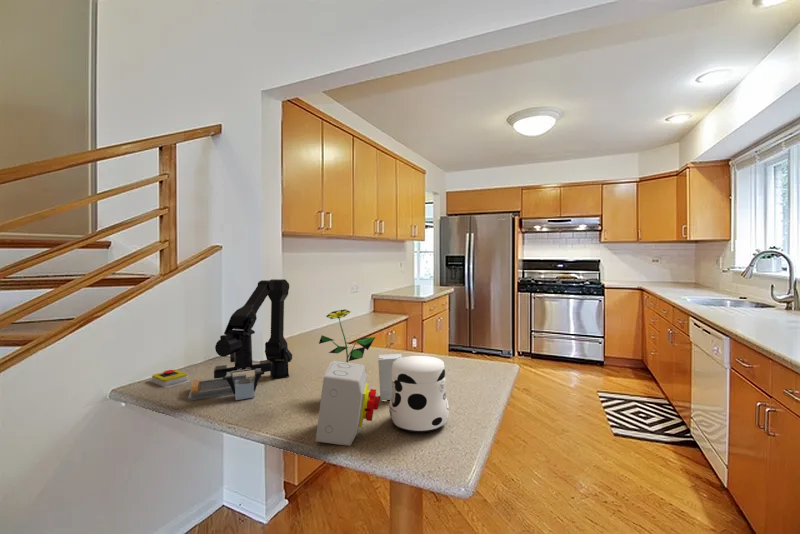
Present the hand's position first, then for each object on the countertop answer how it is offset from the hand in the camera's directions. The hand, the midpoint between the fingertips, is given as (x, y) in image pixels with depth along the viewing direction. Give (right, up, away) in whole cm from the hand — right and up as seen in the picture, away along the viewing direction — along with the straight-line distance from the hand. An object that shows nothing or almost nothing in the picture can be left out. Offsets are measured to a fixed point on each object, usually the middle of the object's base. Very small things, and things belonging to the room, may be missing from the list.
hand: (244, 392), depth 134 cm
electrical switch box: (+41, -2, -28) cm, 49 cm away
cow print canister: (+60, -2, -22) cm, 64 cm away
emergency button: (-37, -2, +18) cm, 41 cm away
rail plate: (-12, -1, +7) cm, 14 cm away
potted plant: (+37, -1, -4) cm, 37 cm away
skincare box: (+52, -1, -3) cm, 52 cm away
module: (0, -1, 0) cm, 1 cm away
